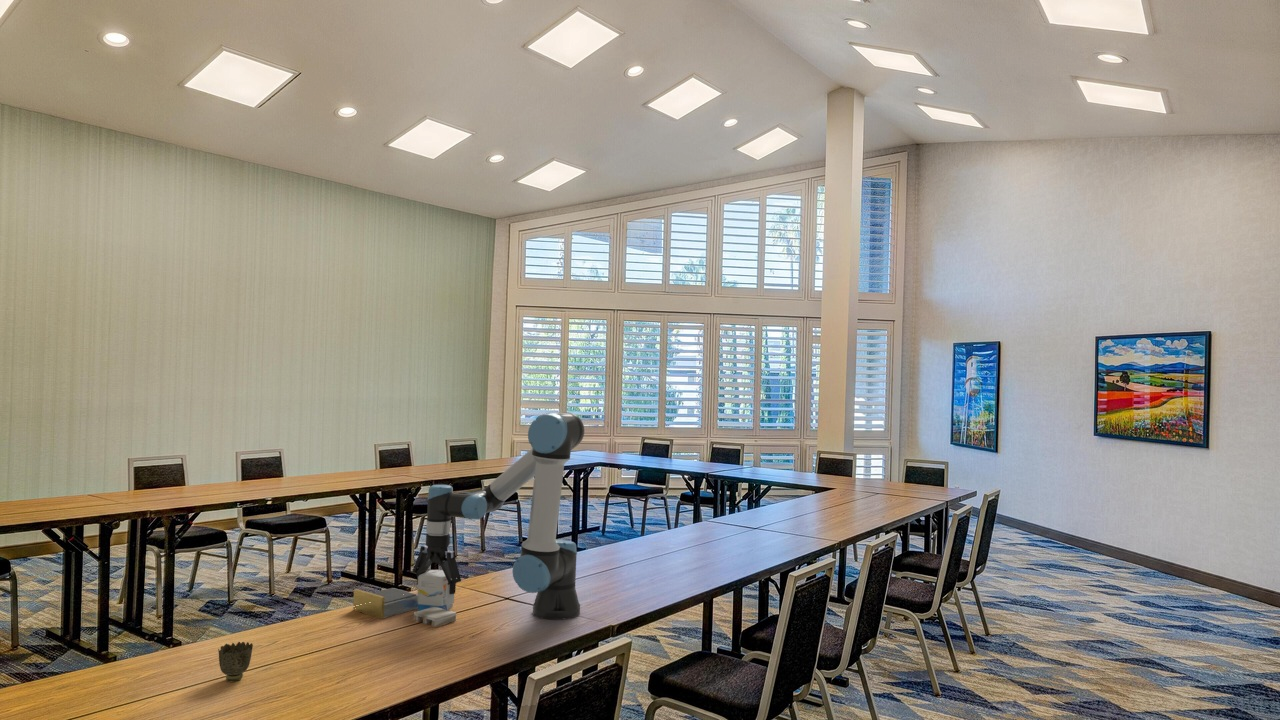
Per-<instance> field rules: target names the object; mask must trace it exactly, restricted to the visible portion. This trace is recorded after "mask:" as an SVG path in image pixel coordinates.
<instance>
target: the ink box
mask: <svg viewBox="0 0 1280 720" xmlns="http://www.w3.org/2000/svg"><path fill="white" fill-rule="evenodd" d="M451 580H452V579H451ZM447 584H448V580H447V578H446V576H445V574H444V572H443V570H442V569H430V570H427V571H426V572H425V573H423V574H421V575H419V595H418V609H417V611H420V610H424V609H428V608H431V607H438V608H442V609H445V610H449V611H450V609H452V608H453V606H454V605H453V604H454V603H453V604H450V605H446V586H447Z"/></svg>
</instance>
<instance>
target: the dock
mask: <svg viewBox="0 0 1280 720" xmlns="http://www.w3.org/2000/svg"><path fill="white" fill-rule="evenodd" d="M403 594H404V595H403ZM352 602H353V604H352V606H355V607H352V610H353V609H354V610H353V611H355V610H356V611H355V612H358V613H361V612H362V614H364V613H365V615H368V616H372V617H375V618H378V619H384V618H389V617H392V616H396V615H399V614H403V613H406V612H410V611H414V610H418V594H417V593H414V592H410V591H407V590H403V589H398V588H395V587H391V588H386V589H382V590H378V591H375V592H368V591H364V590H362V589H357V588H356V589H353V601H352ZM369 602H371V603H369ZM365 603H366V604H365ZM360 604H362V605H360ZM356 605H359V606H356ZM355 608H356V609H355Z"/></svg>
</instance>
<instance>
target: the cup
mask: <svg viewBox="0 0 1280 720" xmlns="http://www.w3.org/2000/svg"><path fill="white" fill-rule="evenodd" d="M253 647H254V645H253V642H251V643H249V641H248V642H246V643H245V641H242V642H240V641H238V642H237V643H236V644H235V643H234V642H232V643H231V644H228V643H225V644H224V645H221V646H220V648H218V649H217V651H218V659H219V669H220V671H221V673H223V674H224V675H225V679H226V681H227V682H230V681H234V682H239V681H241V679H243V676H244V672H246V671H247V669H248V668H249V666H250V664H251V659H252V653H253Z"/></svg>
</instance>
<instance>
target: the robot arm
mask: <svg viewBox="0 0 1280 720" xmlns="http://www.w3.org/2000/svg"><path fill="white" fill-rule="evenodd" d="M527 431H528V432H527V438H528V442H529V444H530V446H531V448H530V450H528V451H527V452H526V453H525V454H523V455H522V456H521V457H520V458H519V459H518V460H516V461H515V462H514V463H513V464H511V466H509V467H508V468H507V469H505V471H504V472H502V473H501V474H500V475H499V476H498V477H496V478H495V479H494V480H493V481H492V482H490V483H489V484H488V485H487V486H486V487H485V488H483V489H482V490H478V491H474V492H469V493H457V492H454V491H453V486H452V485H449V484H434V485H431V486H429V487H428V495H427V499H426V500H427V515H426V516H427V517H426V529H425V530H426V531H425V532H426V533H427V534H426V536H425V545H421V546H420V548H419V554H418V556H417V558H416V561H415V564H414V567H413V569H412V573H413V574H414V573H415V574H416V586H417V589H416V590H417V591H416V594H418V595H419V575H421V574H423V573H425V572H428V569H429V568H430V567H431V565H432V564H433V563H435V564H437V565H439V566H440V568H441V570H443V572H444V574H445V576H446V578H447V580H448V584H447V586H446V605H450V604H455V594H456V589H457V588H456V587H457V583H460V582H461V581H462V578H461V575H460V571H459V567H458V564H457V560H456V559H457V558H456V552H455V551H454V550H451V551H449V550H448V547H449V546H450V544H451V534H450V533H451V522H452V519H451V518H452V517H454V518H460V519H468V520H480V519H482V518H483V517H484V516H485V515H486V514H487V513H492V512H495V511H497V510H499V509H501V508H502V507H503V506H504V503H505V502H506V500H507V499H509V498H510V497H511V496H512V495H514V494H515V493H516V492H517V491H518V490H519V489H521V488H522V487H523V486H524V485H526V484H527V483H528V482H529V481H531V480H532V479H533V478H534V479H533V488H532V495H531V503H530V504H531V506H530V515H529V522H528V529H527V530H528V532H527V539H526V540H524V541H523V542H522V543H521V547H520V548H521V549H520V556H519V557H517V559H516V560H515V561H514V563H513V566H512V577H513V581H514V582H515V583H516V584H517V586H518V587H519V588H520V589H521V590H522V591H524V592H526V593H530V594H531V593H532V594H535V593H536V596H535V598H534V602H533V605H532V614H533V615H534V616H535V617H538V618H542V619H546V620H547V619H548V620H565V619H572V618H575V617H577V616H579V615H580V614H581V605H580V602H579V598H578V595H577V590H576V577H577V576H576V575H577V573H576V572H577V554H578V552H577V544H576V543H575V542H574V541H571V540H564V539H557V531H558V521H559V515H560V514H559V512H560V506H561V497H562V495H561V494H562V487H563V478H564V471H565V469H564V468H565V464H566V463H567V462H568V461H569V460H571V451H573V450H574V449H575V448H576V447H578V446H579V444H581V443H582V442H583V439H584V436H585V426H584V423H583V421H582V419H581V418H580V417H579V416H578V415H576V414H575V413H573V412H568V411H567V412H565V411H564V412H563V411H562V412H546V413H544V414H541V415H538V416H537V417H535V419H533V421H532V422H531V423H530V425H529V428H528V430H527ZM451 579H452V580H451Z"/></svg>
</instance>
